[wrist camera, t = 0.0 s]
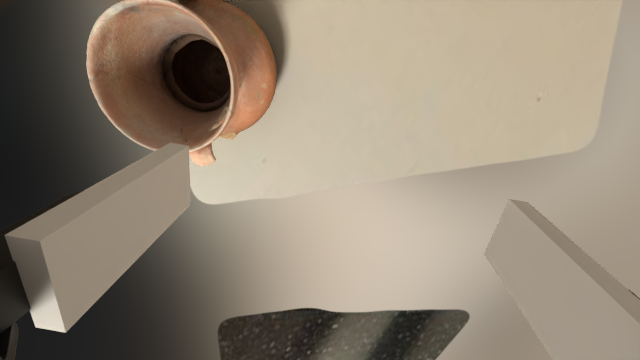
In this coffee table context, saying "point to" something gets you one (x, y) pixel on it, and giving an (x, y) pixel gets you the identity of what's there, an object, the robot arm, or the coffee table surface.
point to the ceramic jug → (180, 72)
